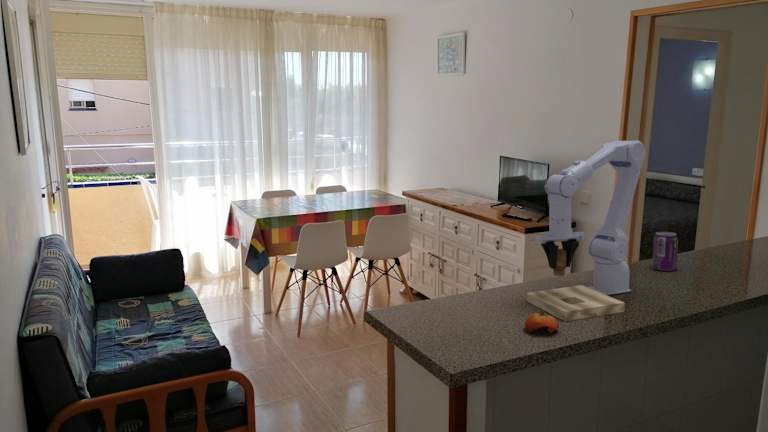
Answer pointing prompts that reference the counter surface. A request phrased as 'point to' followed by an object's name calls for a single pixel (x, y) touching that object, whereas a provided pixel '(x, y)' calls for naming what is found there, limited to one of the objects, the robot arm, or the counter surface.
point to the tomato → (540, 322)
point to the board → (575, 302)
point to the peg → (560, 263)
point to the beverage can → (665, 251)
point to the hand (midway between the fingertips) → (559, 267)
